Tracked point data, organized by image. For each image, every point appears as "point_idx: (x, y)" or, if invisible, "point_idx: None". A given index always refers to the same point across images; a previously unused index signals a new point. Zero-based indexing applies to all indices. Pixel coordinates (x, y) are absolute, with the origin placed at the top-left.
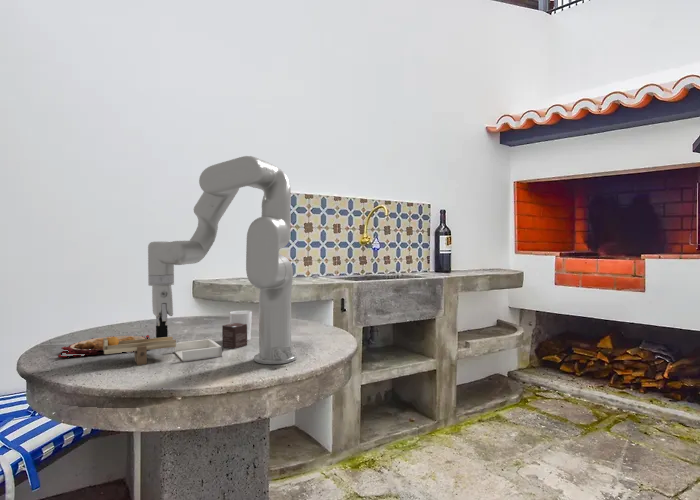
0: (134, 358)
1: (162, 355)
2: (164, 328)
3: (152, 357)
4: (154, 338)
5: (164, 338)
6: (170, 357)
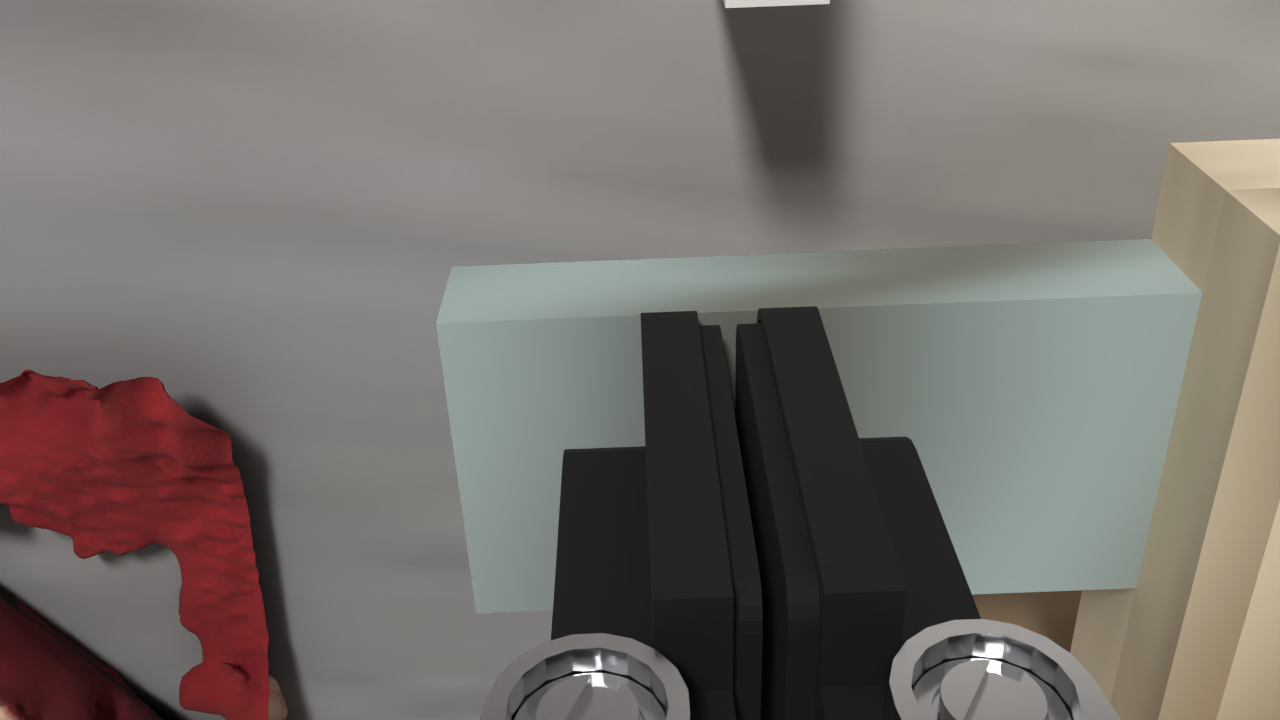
0: None
1: (885, 235)
2: (963, 618)
3: None
4: (1213, 708)
5: (1275, 463)
6: (1206, 102)
